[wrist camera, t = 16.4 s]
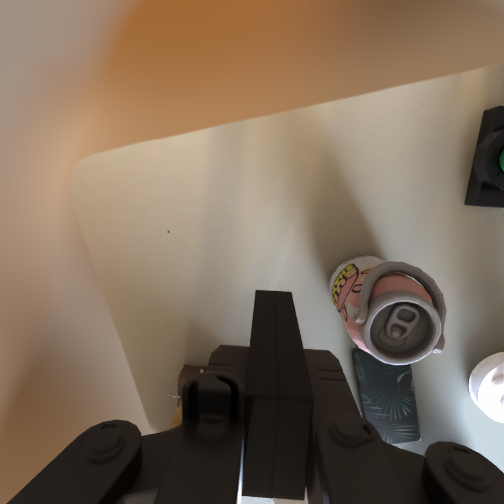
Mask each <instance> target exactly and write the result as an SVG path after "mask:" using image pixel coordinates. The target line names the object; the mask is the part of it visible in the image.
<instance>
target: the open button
mask: <svg viewBox="0 0 504 504" xmlns="http://www.w3.org/2000/svg"><path fill="white" fill-rule="evenodd" d="M499 166H500V168H501V170H502V171H503V172H504V148H503V149H502V151H501V153H500V156H499Z"/></svg>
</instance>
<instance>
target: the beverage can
mask: <svg viewBox="0 0 504 504" xmlns="http://www.w3.org/2000/svg"><path fill="white" fill-rule="evenodd" d="M406 275H408V276H410V277H413V278H414V279H415V280H417V281H418V282H419V283H420V284H421V285H423V287H424V288H425V289H424V288H423V287H422V286H421V285H420V284H418V283H417V282H415V281H414V280H412V279H411V278H409V277H408V276H406ZM329 291H330V298H331V300H332V303H333V305H334V307H335V309H336V311H337V313H338V314H339V316H340V318H341V320H342V322H343V324H344V326H345V327H346V329H347V331H348V333H349V335H350V337H351V339H352V340H353V341H354V342H355V343H356V344H357V345H358V346H359V348H361V349H363V350H364V351H366V352H368V353H370V354H371V355H373V356H374V357H375V358H377V359H379V360H380V361H382V362H384V363H388V364H393V365H406V364H410V363H413V362H416V361H419V360H421V359H422V358H423V357H425V356H426V355H428V354H429V353H430V352H431V351H432V352H434V353H437V354H439V353H440V352H441V351H442V349H443V347H444V342H445V340H444V334H443V331H444V323H445V316H446V307H445V302H444V298H443V294H442V292H441V291H440V289H439V288H438V286H437V284H436V283H435V281H434V280H433V279H432V278H431V277H430V276H428V275H427V274H426V273H425V272H423V271H422V270H421V269H419V268H417V267H414V266H412V265H409V264H407V263H404V262H390V261H386V262H385V261H383V260H382V259H380V258H378V257H373V256H369V255H366V256H356V257H354V258H351V259H349V260H346V261H345V262H344V263H343V264H341V265H340V266H339V267H338V268H337V270H336V271H335V272H334V274H333V275H332V278H331V282H330V285H329Z"/></svg>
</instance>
